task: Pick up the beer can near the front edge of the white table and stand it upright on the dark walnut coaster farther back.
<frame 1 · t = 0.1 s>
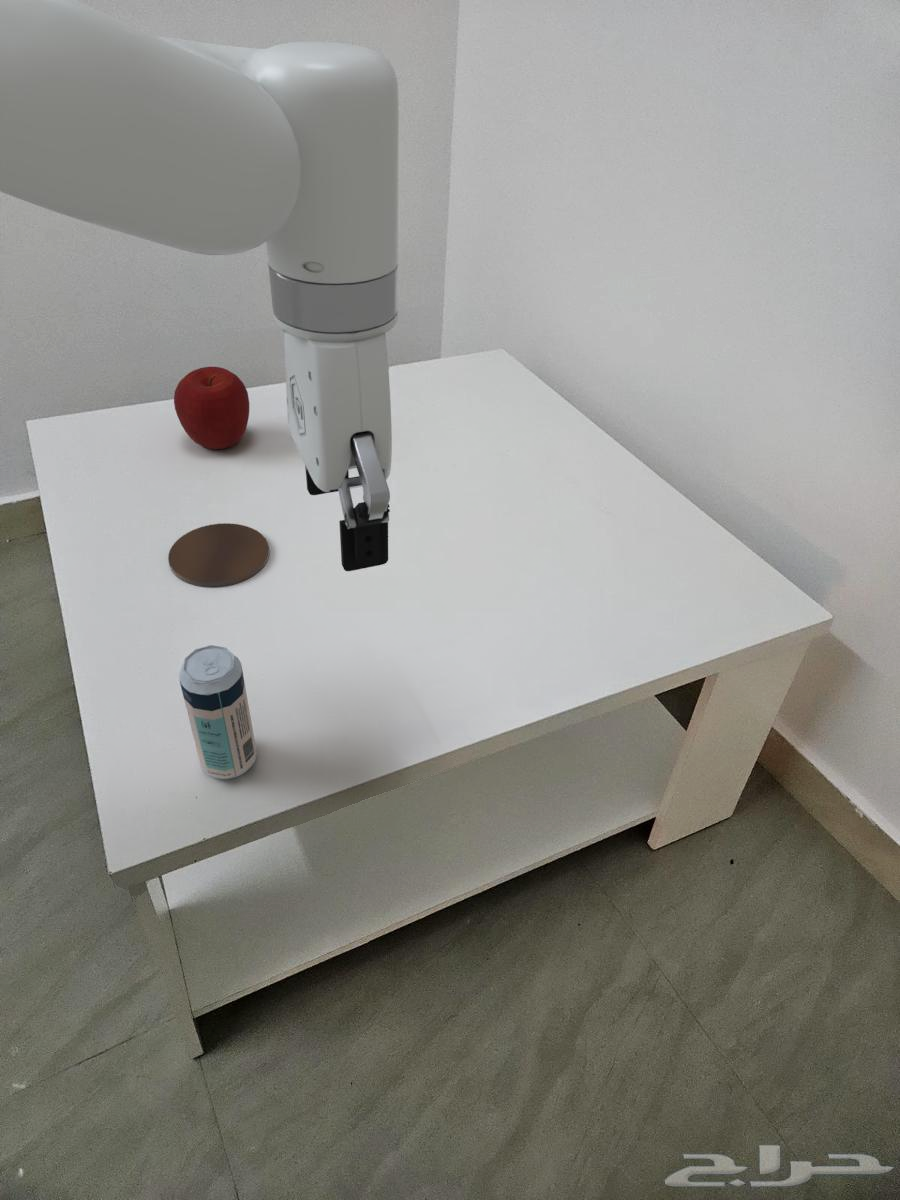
hand: (345, 526, 60), 22 cm above the table, tool pointing down, fingers open, 9 cm apart
coaster: (219, 555, 92), on the table
apple: (218, 443, 111), on the table
beer can: (229, 761, 71), on the table
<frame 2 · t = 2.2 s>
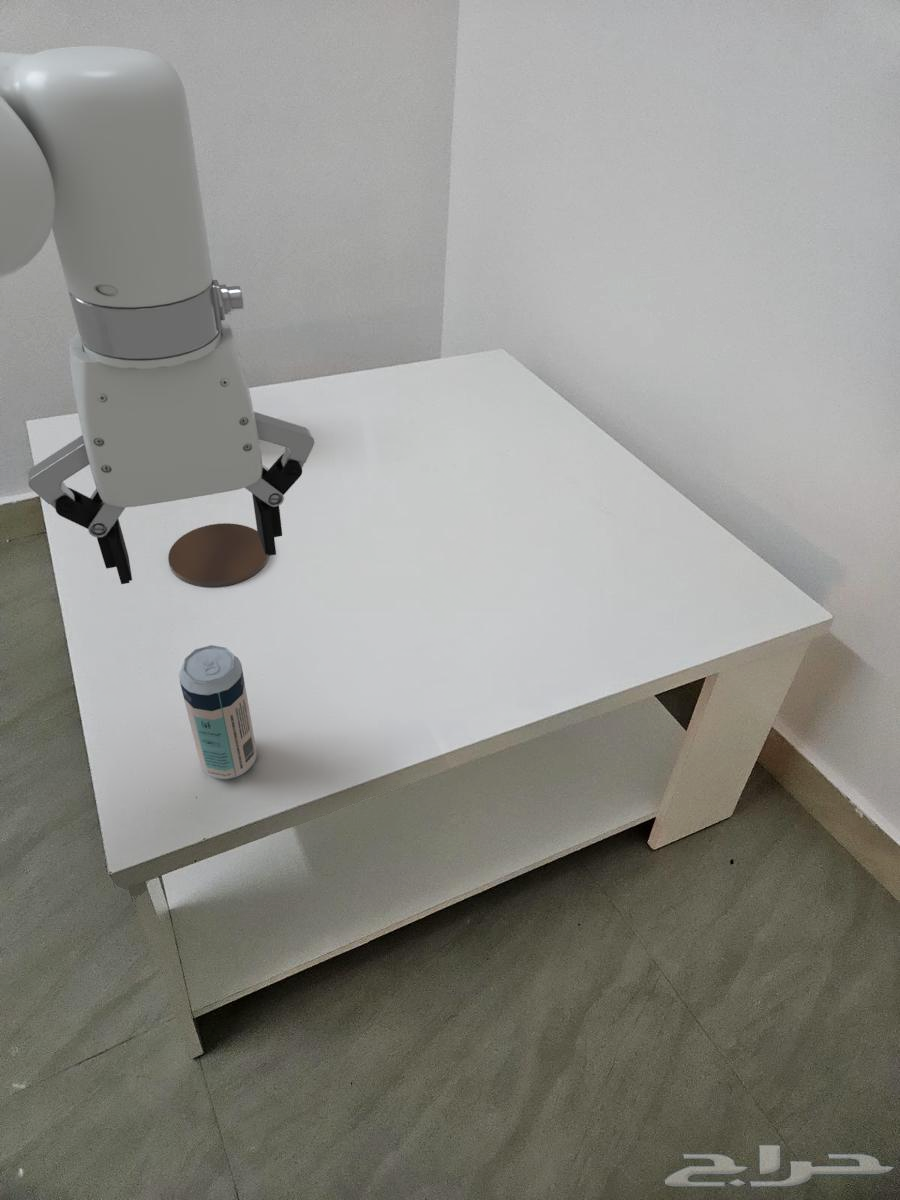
hand: (197, 557, 57), 22 cm above the table, tool pointing down, fingers open, 9 cm apart
nothing on the table moved.
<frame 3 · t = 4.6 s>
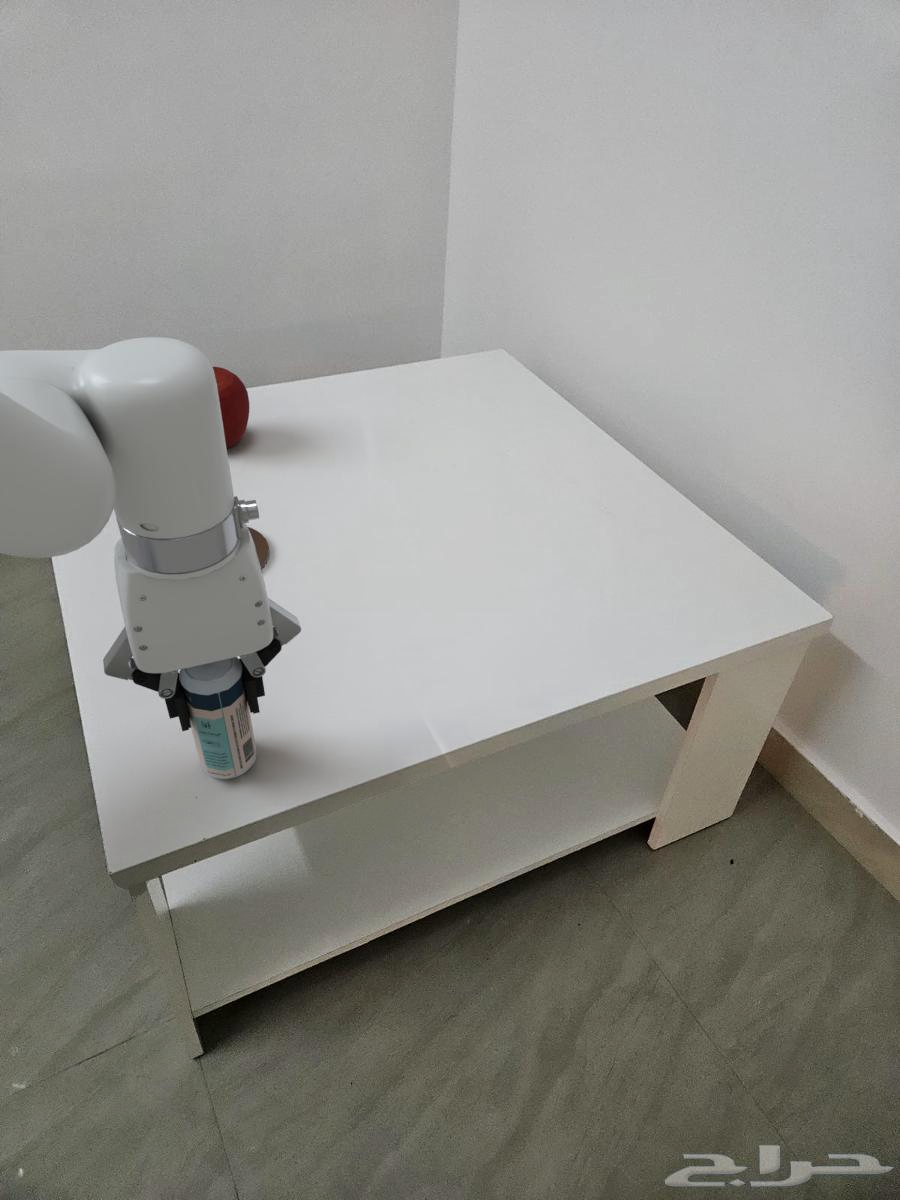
hand: (218, 707, 67), 7 cm above the table, tool pointing down, fingers closed on beer can, 4 cm apart
beer can: (229, 761, 71), on the table, touching gripper
everything else where it was.
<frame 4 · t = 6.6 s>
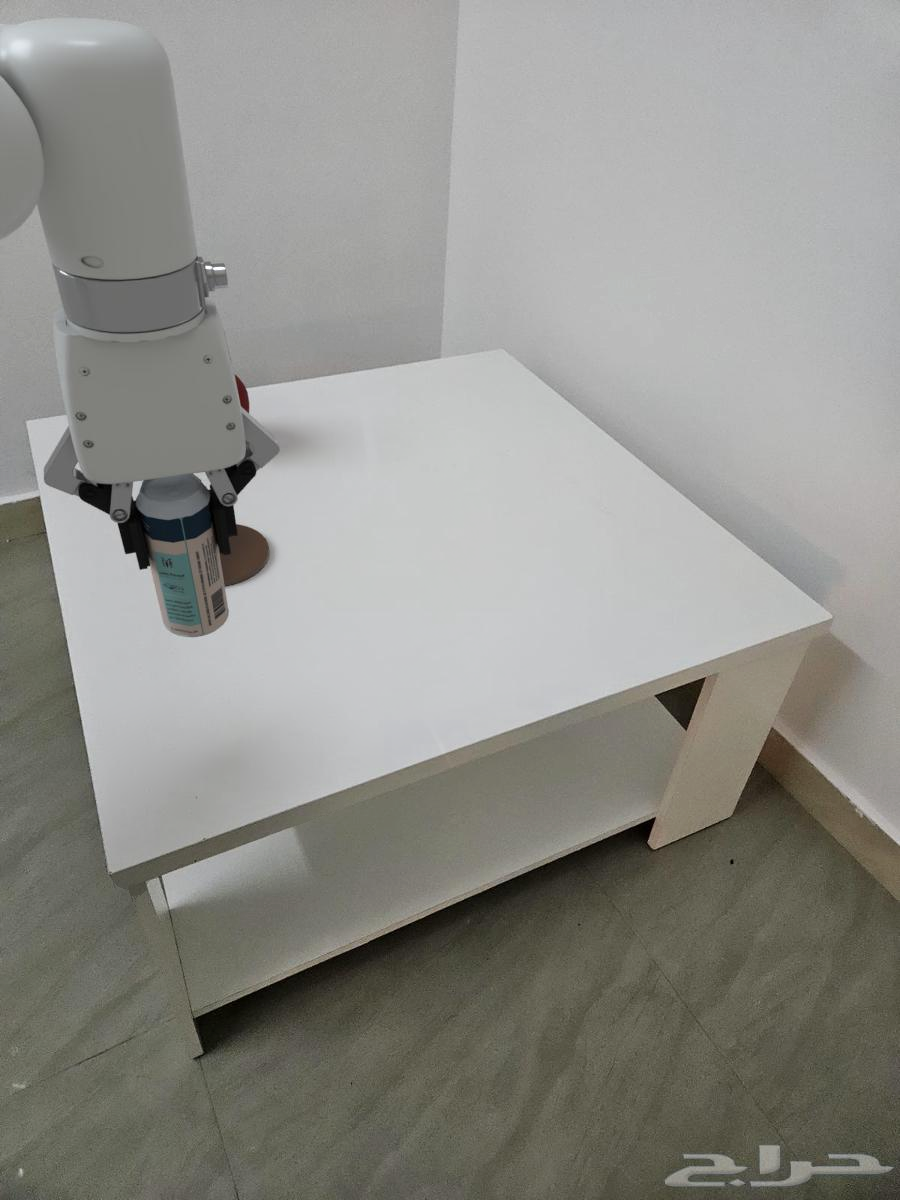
hand: (183, 548, 57), 22 cm above the table, tool pointing down, fingers closed on beer can, 4 cm apart
beer can: (197, 622, 62), point 15 cm above the table, touching gripper
everything else where it was.
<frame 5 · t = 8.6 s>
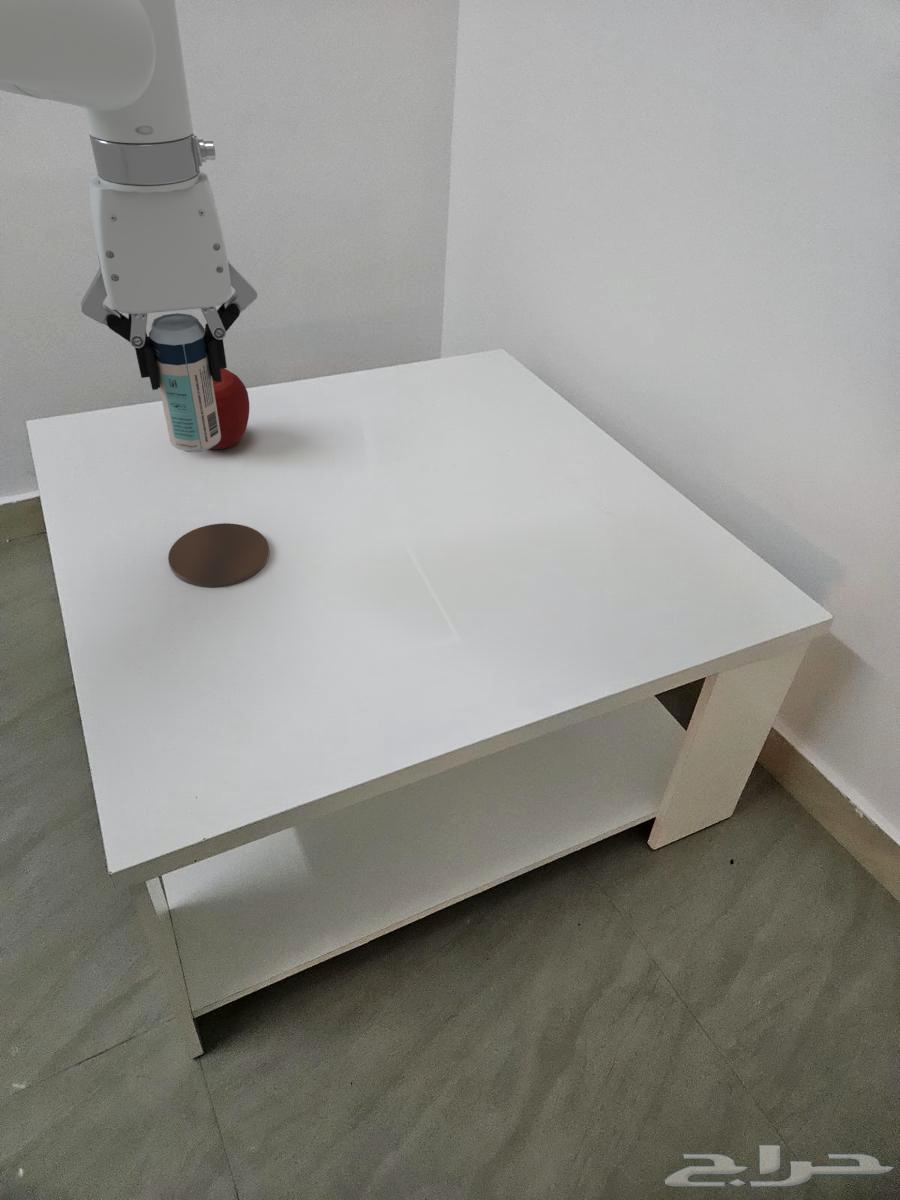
hand: (185, 377, 75), 23 cm above the table, tool pointing down, fingers closed on beer can, 4 cm apart
beer can: (196, 444, 79), point 16 cm above the table, touching gripper
everything else where it was.
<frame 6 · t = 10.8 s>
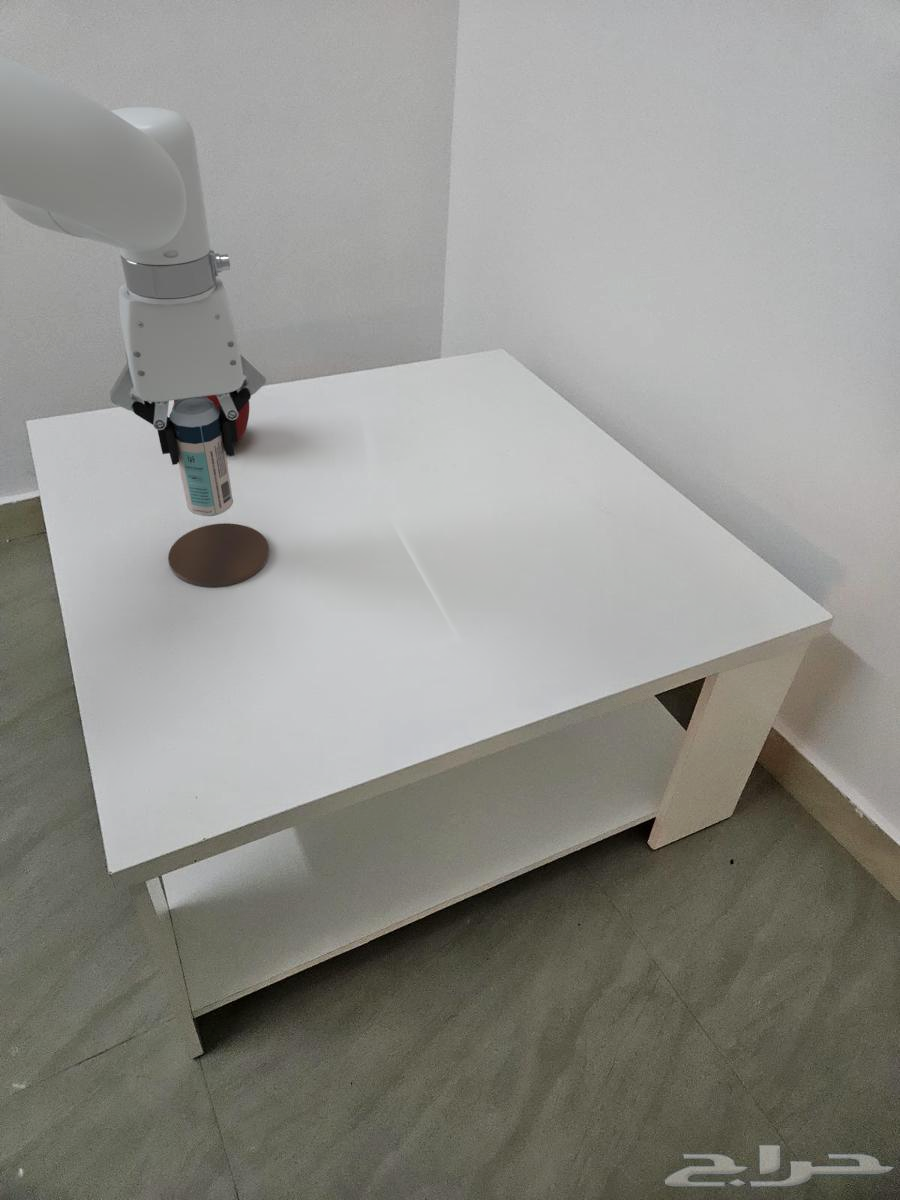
hand: (201, 452, 83), 13 cm above the table, tool pointing down, fingers closed on beer can, 4 cm apart
beer can: (211, 508, 88), point 7 cm above the table, touching gripper
everything else where it was.
when the fingers open (7 cm above the table, at t = 12.6 s): beer can stays where it is, resting on coaster.
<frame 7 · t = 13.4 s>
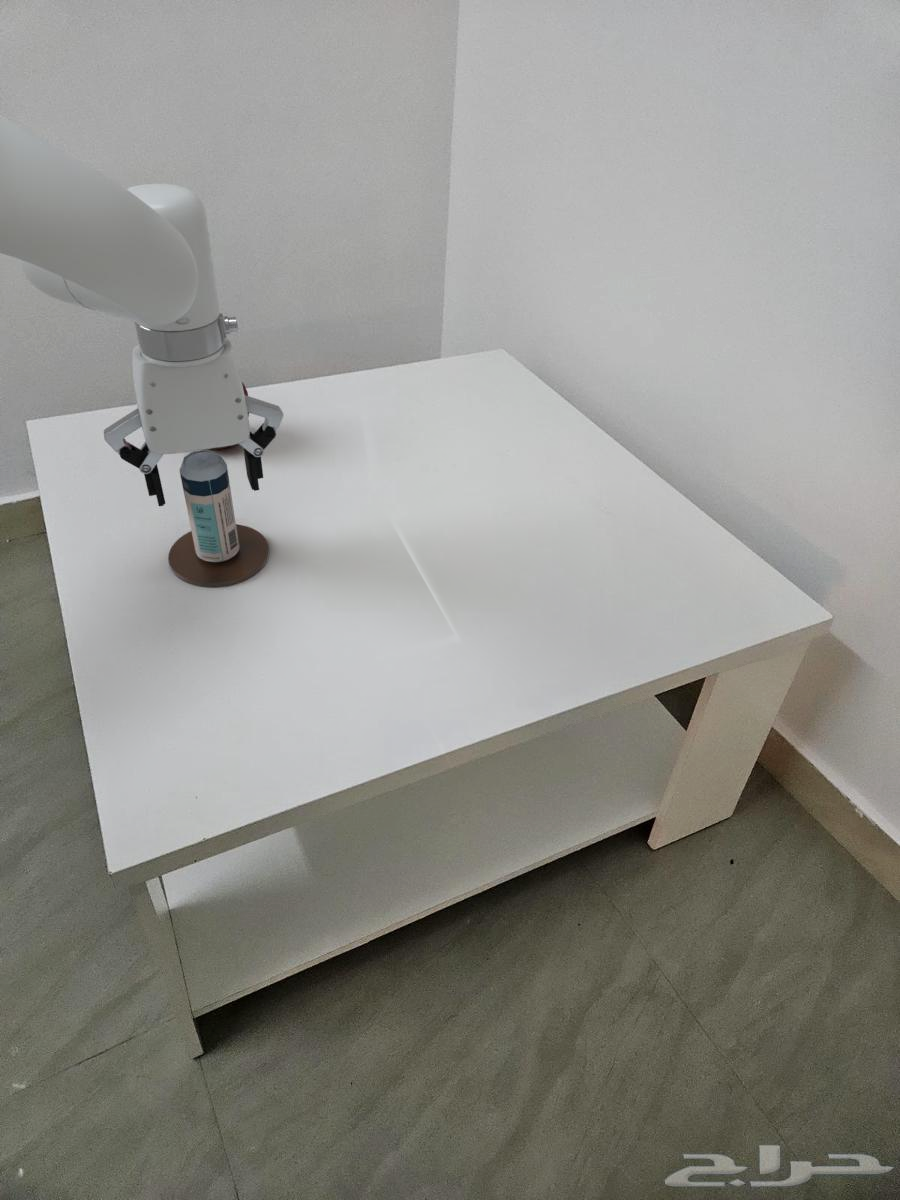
hand: (207, 491, 86), 9 cm above the table, tool pointing down, fingers open, 9 cm apart
beer can: (218, 553, 92), resting on coaster
everything else where it was.
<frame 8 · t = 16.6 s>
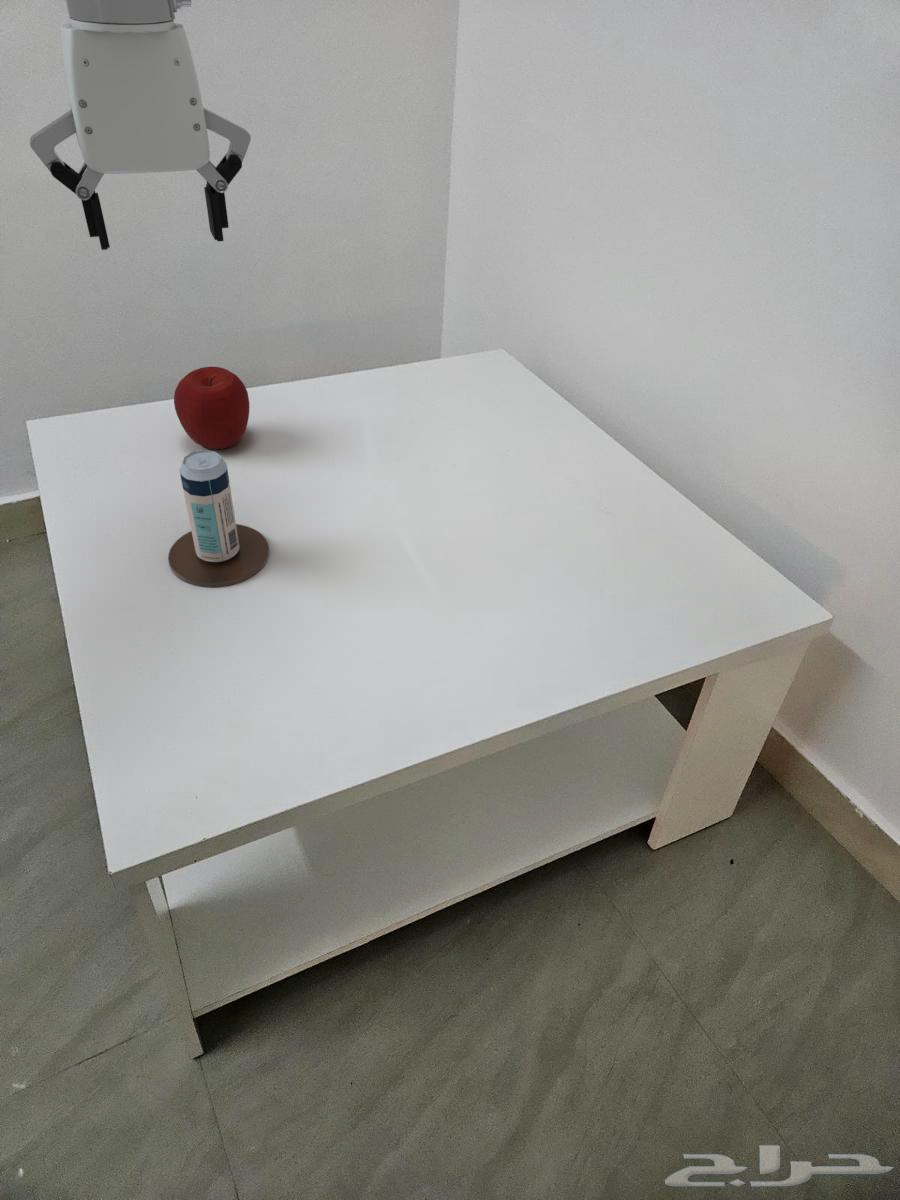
hand: (162, 240, 73), 33 cm above the table, tool pointing down, fingers open, 9 cm apart
nothing on the table moved.
at the end: beer can 0.1 cm off-centre on the coaster, point 0.4 cm above the coaster's base; beer can tilted 0°; the gripper is holding nothing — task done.
